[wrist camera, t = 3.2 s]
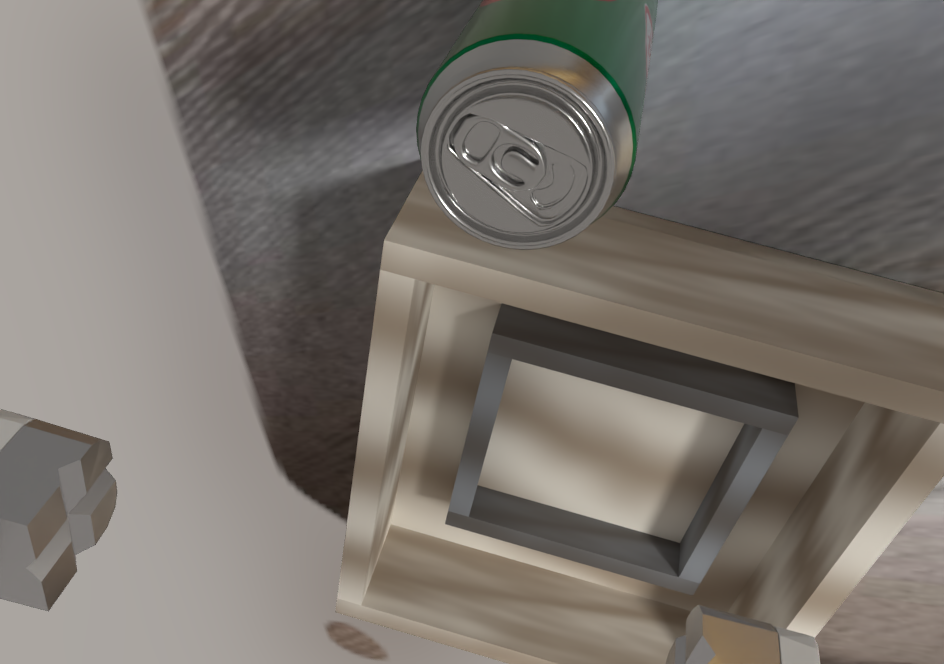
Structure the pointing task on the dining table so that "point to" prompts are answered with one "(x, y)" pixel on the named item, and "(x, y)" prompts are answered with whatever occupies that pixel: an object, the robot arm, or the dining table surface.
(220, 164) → the dining table surface
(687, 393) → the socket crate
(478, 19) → the soda can
